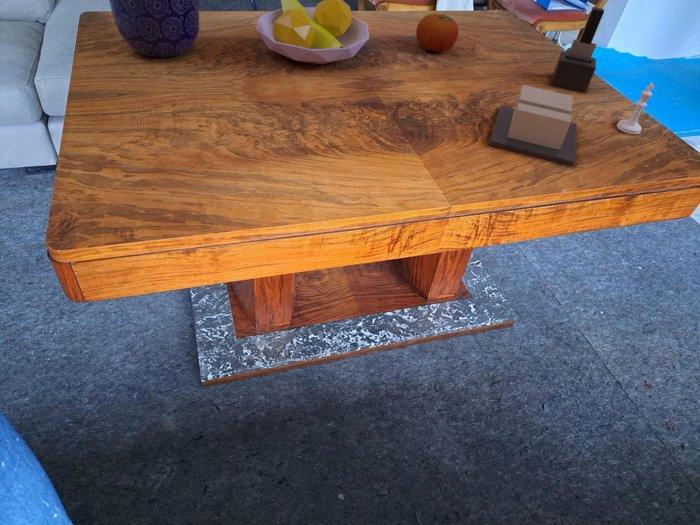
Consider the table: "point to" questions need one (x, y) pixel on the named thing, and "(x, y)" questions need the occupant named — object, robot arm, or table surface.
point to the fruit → (437, 32)
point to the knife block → (573, 73)
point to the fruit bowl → (313, 31)
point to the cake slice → (539, 126)
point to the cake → (544, 100)
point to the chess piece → (636, 114)
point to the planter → (157, 25)
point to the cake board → (502, 141)
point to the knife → (586, 38)
